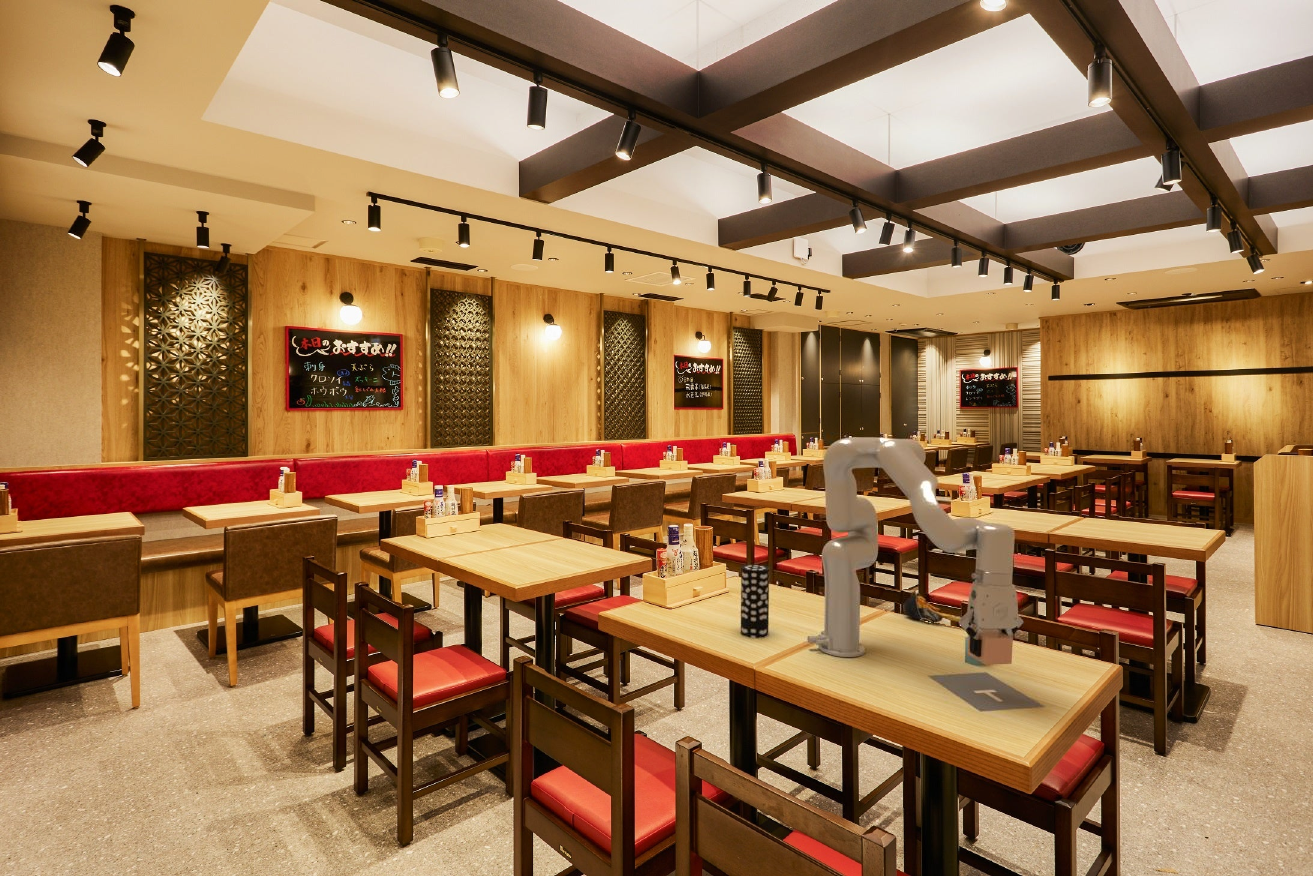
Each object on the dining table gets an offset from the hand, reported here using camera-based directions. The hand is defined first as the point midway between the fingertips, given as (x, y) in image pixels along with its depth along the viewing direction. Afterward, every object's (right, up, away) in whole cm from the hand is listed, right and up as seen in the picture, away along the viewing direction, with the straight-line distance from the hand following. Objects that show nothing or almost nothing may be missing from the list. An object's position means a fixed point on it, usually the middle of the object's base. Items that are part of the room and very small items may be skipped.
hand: (989, 653), depth 149 cm
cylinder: (+7, -10, +21) cm, 24 cm away
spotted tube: (-48, -9, +46) cm, 66 cm away
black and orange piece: (+11, -10, +58) cm, 60 cm away
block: (0, -1, 0) cm, 1 cm away
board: (0, -11, +3) cm, 11 cm away
